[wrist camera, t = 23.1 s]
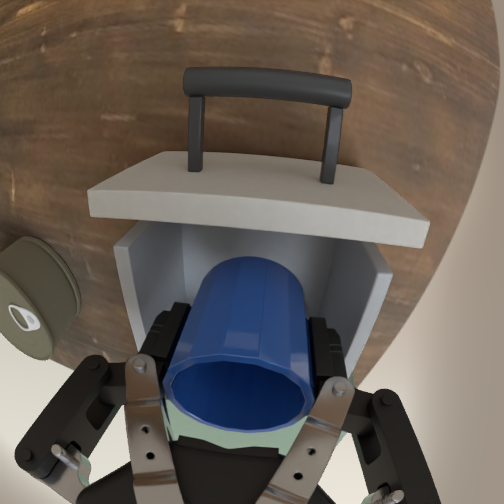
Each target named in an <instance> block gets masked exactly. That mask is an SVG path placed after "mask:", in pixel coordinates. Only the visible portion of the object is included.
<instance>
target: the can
mask: <svg viewBox="0 0 504 504" xmlns="http://www.w3.org/2000/svg"><path fill="white" fill-rule="evenodd" d="M80 310H81V296H80V292H79V289H78V286H77V283H76V281H75V279H74V277H73V275H72V273H71V271H70V270H69V268H68V267H67V265H66V264H65V262H64V261H63V260H62V258H61V257H60V256H59V255H58V254H57V253H56V252H55V251H54V250H53V249H52V248H51V247H50V246H49V245H47V244H46V243H44V242H43V241H41V240H39V239H37V238H35V237H31V236H24V237H21V238H19V239H18V240H16V241H15V242H14V243H13V244H12V245H10V246H9V247H7V248H6V249H5V250H4V251H2V252H1V253H0V332H1V333H2V335H3V336H4V337H5V338H6V339H7V340H8V341H9V342H10V343H11V344H13V345H14V346H15V347H16V348H17V349H19V350H20V351H21V352H23V353H24V354H26V355H28V356H30V357H32V358H34V359H37V360H48V359H49V358H50V357H51V356H52V354H53V352H54V349H55V347H56V346H57V344H58V343H59V341H60V340H61V338H62V337H63V335H64V334H65V333H66V331H67V330H68V328H69V327H70V325H71V324H72V323H73V321H74V320H75V319H76V318H77V316H78V315H79V313H80Z"/></svg>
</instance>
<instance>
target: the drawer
mask: <svg viewBox="0 0 504 504" xmlns="http://www.w3.org/2000/svg"><path fill="white" fill-rule="evenodd" d="M183 90H184V93H185V95H186V96H187V97H190V98H189V121H188V151H163V152H161V153H159V154H157V155H155V156H152V157H150V158H148V159H146V160H144V161H142V162H140V163H138V164H136V165H134V166H132V167H130V168H128V169H126V170H124V171H122V172H120V173H118V174H116V175H114V176H112V177H110V178H108V179H107V180H105V181H103V182H101V183H99V184H97V185H96V186H94V187H92V188H90V189H89V190H87V195H88V203H89V210H90V216H91V217H101V218H117V219H132V220H140V221H138V222H137V223H136V224H135V225H134V226H133V227H132V228H131V229H130V230H129V231H128V232H127V233H126V234H125V235H124V236H123V237H122V238H121V239H120V240H119V241H118V242H117V243H116V244H115V245H114V246H113V248H114V253H115V259H116V264H117V269H118V274H119V279H120V283H121V288H122V292H123V297H124V301H125V305H126V309H127V313H128V317H129V320H130V324H131V328H132V331H133V335H134V338H135V342H136V345H137V349H138V352H139V350H140V348H141V346H142V344H143V342H144V340H145V338H146V336H147V334H148V332H149V331H150V328H151V326H152V325H153V322H154V320H155V318H156V316H157V315H159V314H160V313H161V312H162V311H163V310H166V311H170V310H171V308H172V306H173V304H174V302H182V303H189V304H190V306H191V305H192V302H193V300H194V297H195V295H196V293H197V291H198V288H199V286H200V284H201V281H202V280H203V278H204V276H205V275H206V274H207V273H208V271H209V270H211V269H212V268H213V267H214V266H216V265H217V264H219V263H221V262H223V261H225V260H228V259H231V258H236V257H242V256H255V257H262V258H266V259H269V260H272V261H275V262H277V263H279V264H281V265H283V266H284V267H286V268H287V269H288V270H290V271H291V272H292V273H293V274H294V275H295V276H296V277H297V279H298V280H299V282H300V283H301V285H302V287H303V290H304V293H305V299H306V303H307V310H308V320H309V317H323V318H325V319H326V325H327V328H332V329H335V330H336V332H337V333H338V334H339V336H340V339H341V344H342V345H341V346H342V350H343V355H344V360H345V366H346V372H347V377H348V379H349V377H350V375H351V373H352V371H353V369H354V367H355V365H356V363H357V361H358V359H359V356H360V354H361V352H362V350H363V348H364V346H365V344H366V341H367V339H368V337H369V335H370V332H371V330H372V328H373V325H374V323H375V321H376V318H377V316H378V313H379V311H380V308H381V306H382V303H383V301H384V298H385V296H386V293H387V290H388V288H389V285H390V282H391V279H392V277H393V273H392V271H391V269H390V268H389V266H388V264H387V262H386V261H385V259H384V257H383V256H382V254H381V252H380V251H379V249H378V247H377V246H376V244H375V243H382V244H390V245H398V246H406V247H414V248H422V247H423V244H424V241H425V238H426V235H427V232H428V229H429V225H430V221H429V220H428V219H427V218H426V217H424V216H423V215H422V214H421V213H420V212H419V211H418V210H417V209H416V208H414V207H413V206H412V205H411V204H410V203H409V202H408V201H406V200H405V199H404V198H403V197H402V196H401V195H399V194H398V193H397V192H396V191H395V190H393V189H392V188H391V187H390V186H389V185H387V184H386V183H385V182H384V181H382V180H381V179H380V178H379V177H377V176H376V175H375V174H373V173H372V172H371V171H369V170H368V169H363V168H358V167H352V166H346V165H339V164H337V158H338V151H339V143H340V136H341V127H342V119H343V109H347V108H348V107H349V105H350V102H351V97H352V83H351V80H349V79H345V78H340V77H334V76H328V75H322V74H316V73H309V72H301V71H292V70H283V69H271V68H255V67H189V68H187V69H186V70H185V73H184V76H183ZM203 96H218V97H249V98H264V99H277V100H287V101H296V102H304V103H312V104H319V105H325V106H329V107H328V113H327V122H326V131H325V140H324V148H323V156H322V162H318V161H311V160H303V159H294V158H285V157H275V156H264V155H252V154H237V153H220V152H203V140H204V113H205V97H203Z"/></svg>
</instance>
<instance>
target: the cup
mask: <svg viewBox="0 0 504 504" xmlns="http://www.w3.org/2000/svg"><path fill="white" fill-rule="evenodd" d="M162 383H163V387H164V390H165V393H166V397H167V398H168V399H169V400H170V401H171V403H172V404H173V405H174V406H175V407H176V408H177V409H178V410H179V411H181V412H182V413H183V414H185V415H187V416H189V417H190V418H192V419H194V420H196V421H197V422H199V423H202V424H205V425H208V426H211V427H214V428H217V429H221V430H225V431H233V432H242V433H259V432H271V431H275V430H279V429H282V428H285V427H289V426H292V425H294V424H295V423H297V422H298V421H300V420H301V419H303V418H304V417H305V416H307V415H308V414H309V412H310V410H311V408H312V406H313V403H314V401H315V392H314V378H313V364H312V352H311V341H310V330H309V320H308V310H307V303H306V299H305V293H304V290H303V287H302V285H301V283H300V282H299V280H298V279H297V277H296V276H295V275H294V274H293V273H292V272H291V271H290V270H288V269H287V268H286V267H284V266H283V265H281V264H279V263H277V262H275V261H272V260H269V259H266V258H262V257H255V256H242V257H236V258H231V259H228V260H225V261H223V262H221V263H219V264H217V265H216V266H214V267H213V268H212V269H211V270H209V271H208V273H207V274H206V275H205V276H204V278H203V280H202V281H201V284H200V286H199V288H198V291H197V293H196V295H195V297H194V300H193V302H192V305H191V307H190V310H189V313H188V315H187V318H186V320H185V323H184V325H183V328H182V330H181V333H180V336H179V338H178V341H177V343H176V346H175V349H174V351H173V354H172V356H171V359H170V362H169V364H168V367H167V370H166V373H165V375H164V378H163V381H162Z"/></svg>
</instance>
